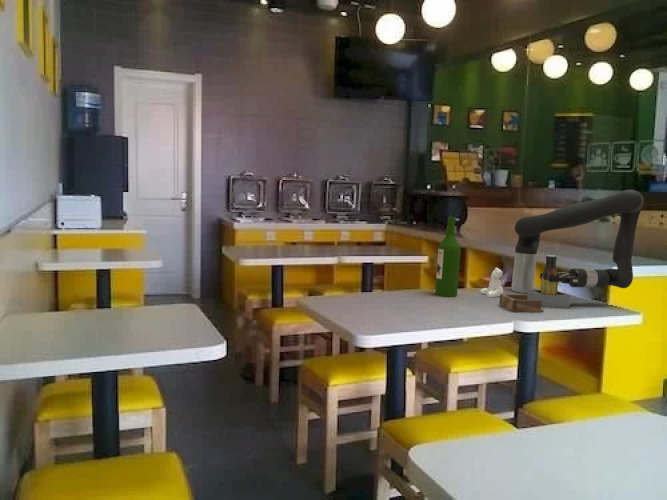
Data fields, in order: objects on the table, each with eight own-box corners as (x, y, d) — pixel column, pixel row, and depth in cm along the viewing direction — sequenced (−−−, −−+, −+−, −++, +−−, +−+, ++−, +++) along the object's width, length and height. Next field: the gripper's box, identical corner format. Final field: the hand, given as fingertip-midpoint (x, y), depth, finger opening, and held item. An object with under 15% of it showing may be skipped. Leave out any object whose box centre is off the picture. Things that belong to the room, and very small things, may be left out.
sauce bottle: (545, 302, 252) (550, 254, 249) (559, 305, 247) (563, 256, 244) (536, 303, 248) (540, 254, 245) (549, 307, 243) (554, 256, 240)
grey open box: (527, 301, 251) (528, 289, 251) (554, 302, 254) (555, 290, 253) (541, 307, 241) (542, 295, 240) (569, 307, 243) (570, 295, 242)
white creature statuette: (478, 293, 266) (481, 265, 264) (497, 293, 267) (500, 266, 266) (487, 297, 256) (490, 269, 255) (507, 298, 258) (509, 269, 256)
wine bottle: (431, 293, 260) (436, 215, 256) (450, 292, 263) (455, 216, 259) (441, 297, 252) (447, 217, 248) (461, 296, 255) (467, 218, 251)
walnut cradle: (499, 305, 241) (500, 294, 240) (527, 305, 243) (528, 294, 243) (513, 312, 229) (514, 300, 229) (543, 312, 232) (544, 300, 231)
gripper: (573, 265, 255) (536, 265, 252) (594, 271, 241) (555, 271, 238) (571, 283, 256) (534, 283, 253) (592, 290, 242) (553, 290, 239)
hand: (544, 277), depth 245 cm, fingers closed on sauce bottle, 6 cm apart
